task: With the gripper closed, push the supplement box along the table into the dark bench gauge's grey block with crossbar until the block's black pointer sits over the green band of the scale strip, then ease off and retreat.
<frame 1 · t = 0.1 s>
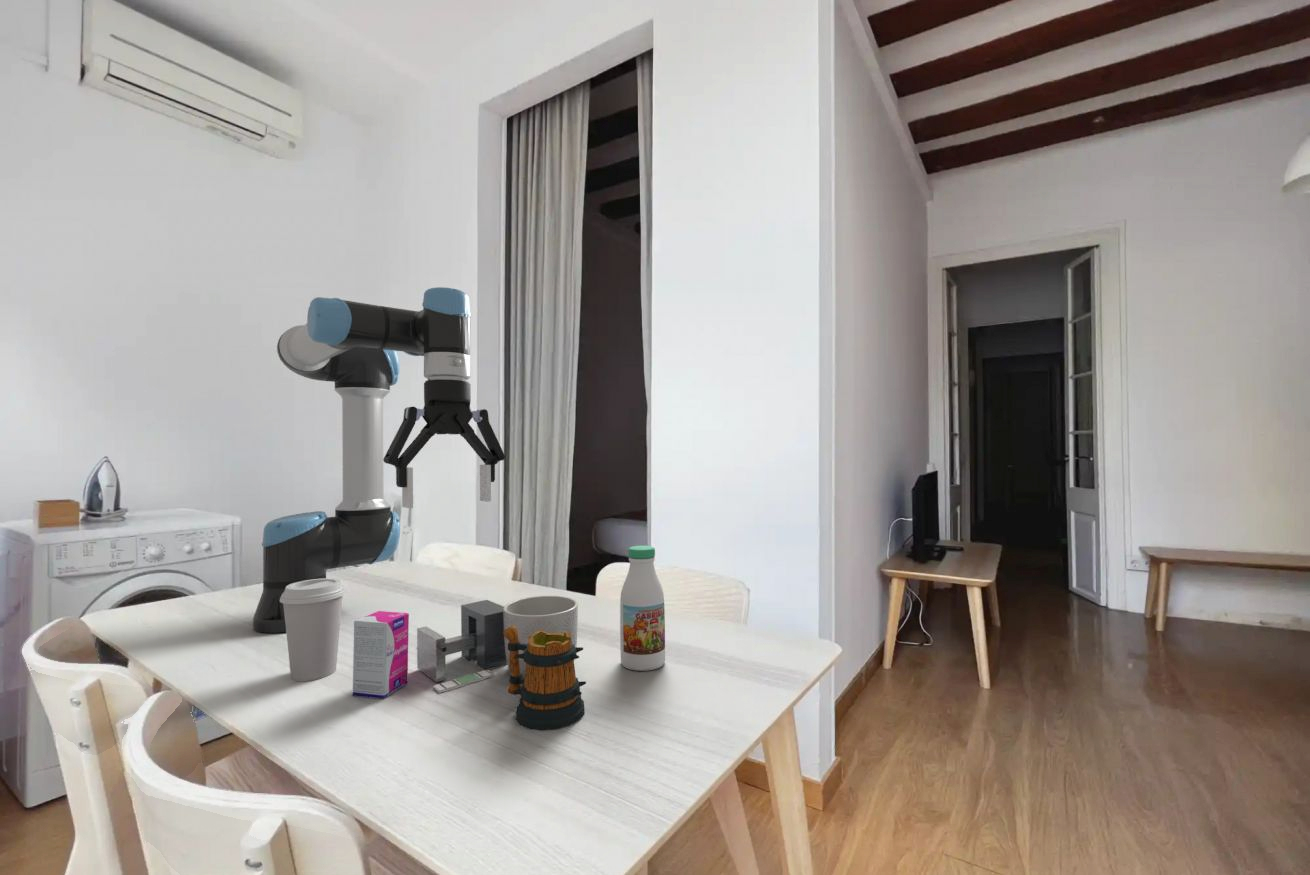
hand: (448, 504, 97), 28 cm above the table, fingers open, 13 cm apart
scale strip: (464, 682, 90), on the table
milk bottle: (643, 664, 97), on the table
mug: (542, 713, 80), on the table
grey block with crossbar: (464, 647, 96), point 4 cm above the table, slide at 0.0 cm
planter: (541, 671, 95), on the table
coffee cup: (313, 674, 95), on the table
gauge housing: (486, 659, 100), on the table
supplement box: (381, 691, 88), on the table
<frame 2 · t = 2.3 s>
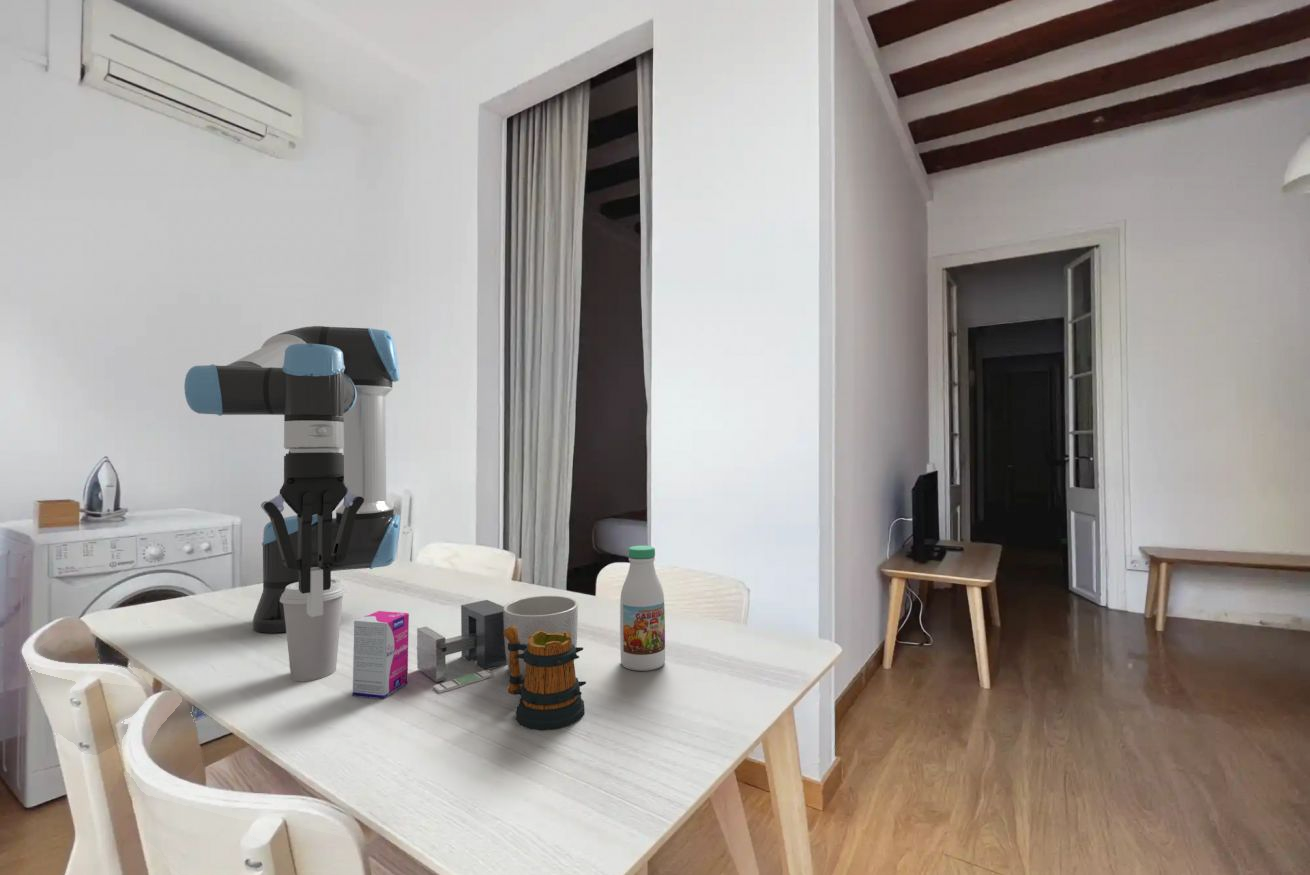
hand: (314, 613, 82), 14 cm above the table, fingers closed
nothing on the table moved.
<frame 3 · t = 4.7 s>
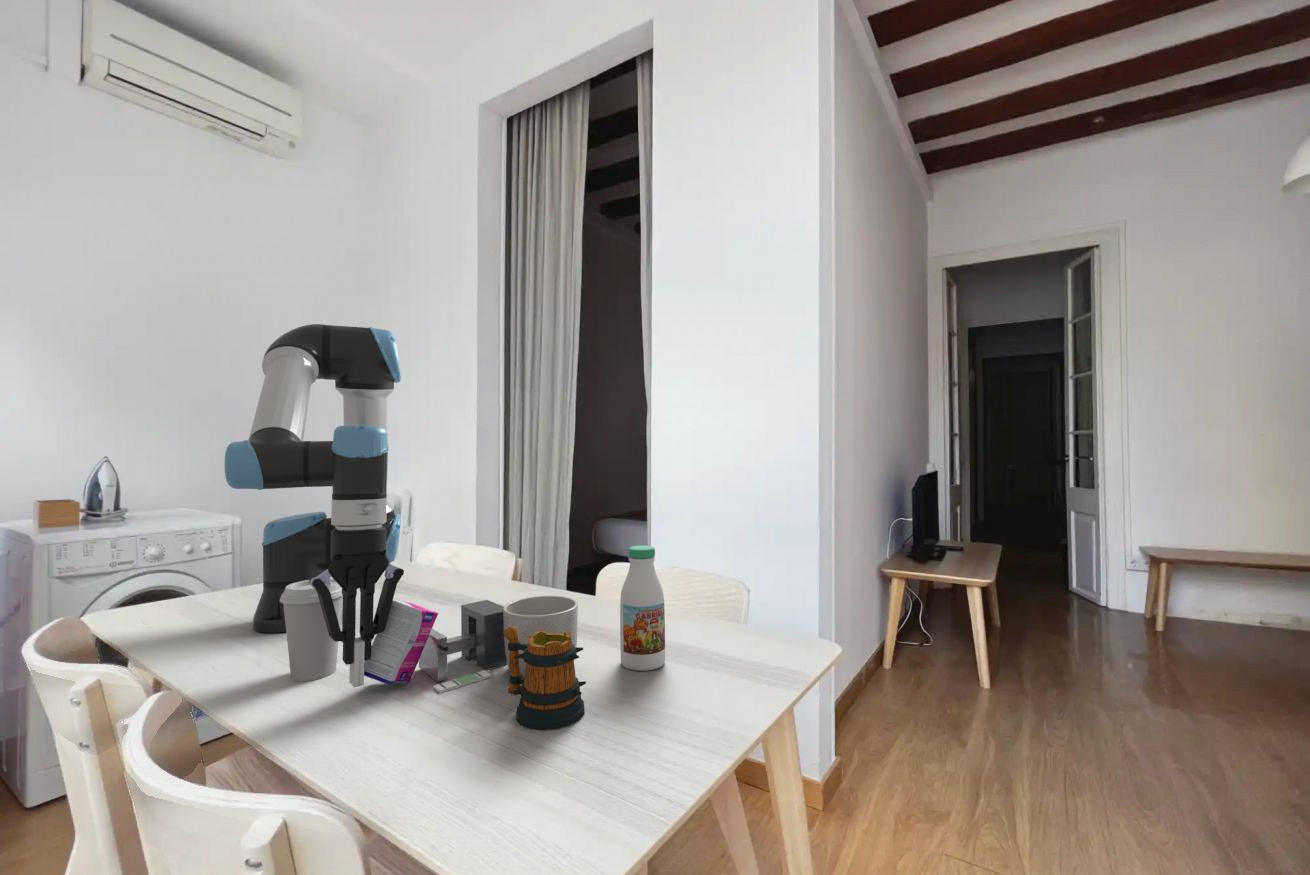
hand: (356, 683, 85), 2 cm above the table, fingers closed
supplement box: (384, 680, 88), point 1 cm above the table, touching gripper, hand
everything else where it was.
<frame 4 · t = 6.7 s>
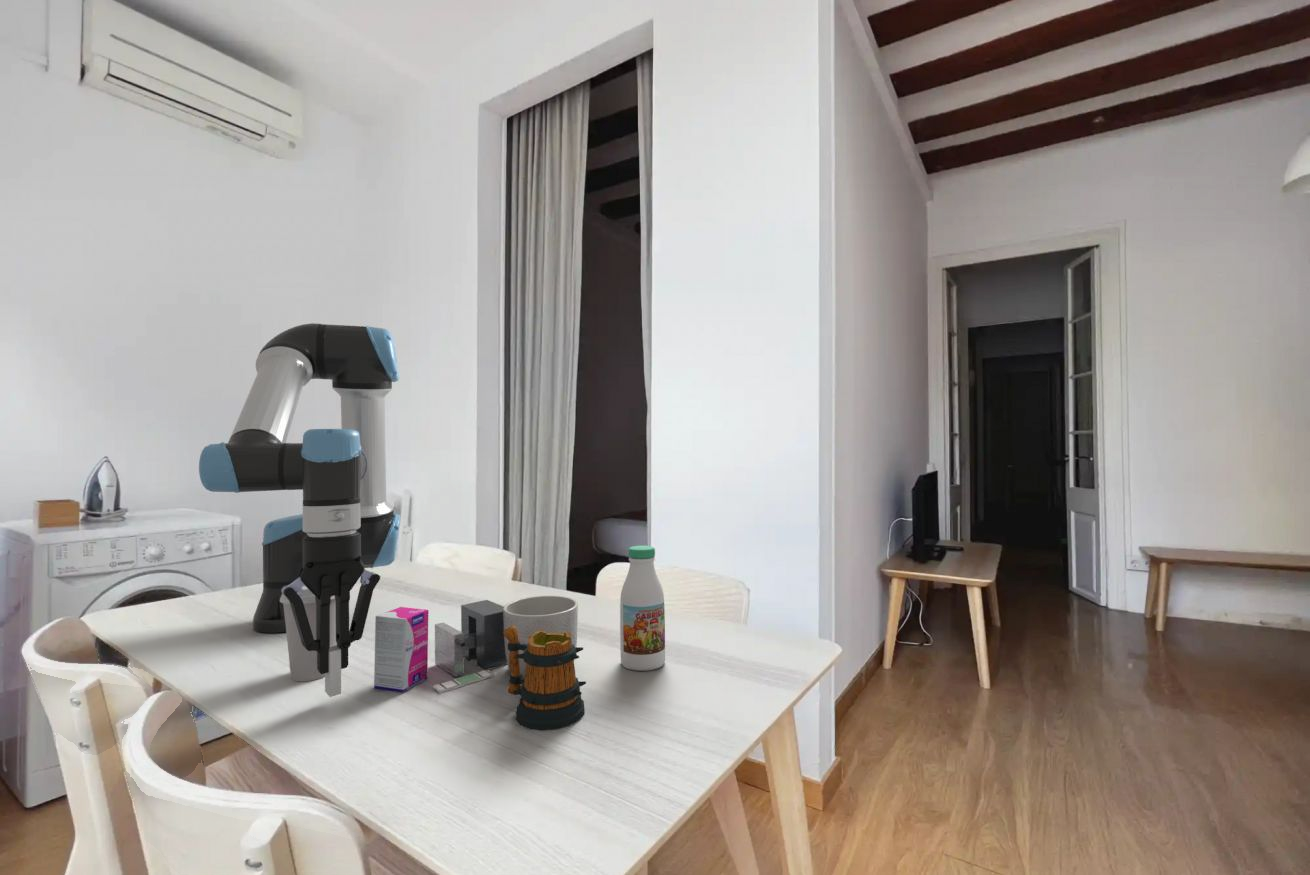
hand: (333, 692, 83), 2 cm above the table, fingers closed
grey block with crossbar: (481, 642, 98), point 4 cm above the table, slide at 3.0 cm
supplement box: (401, 685, 90), on the table
everything else where it was.
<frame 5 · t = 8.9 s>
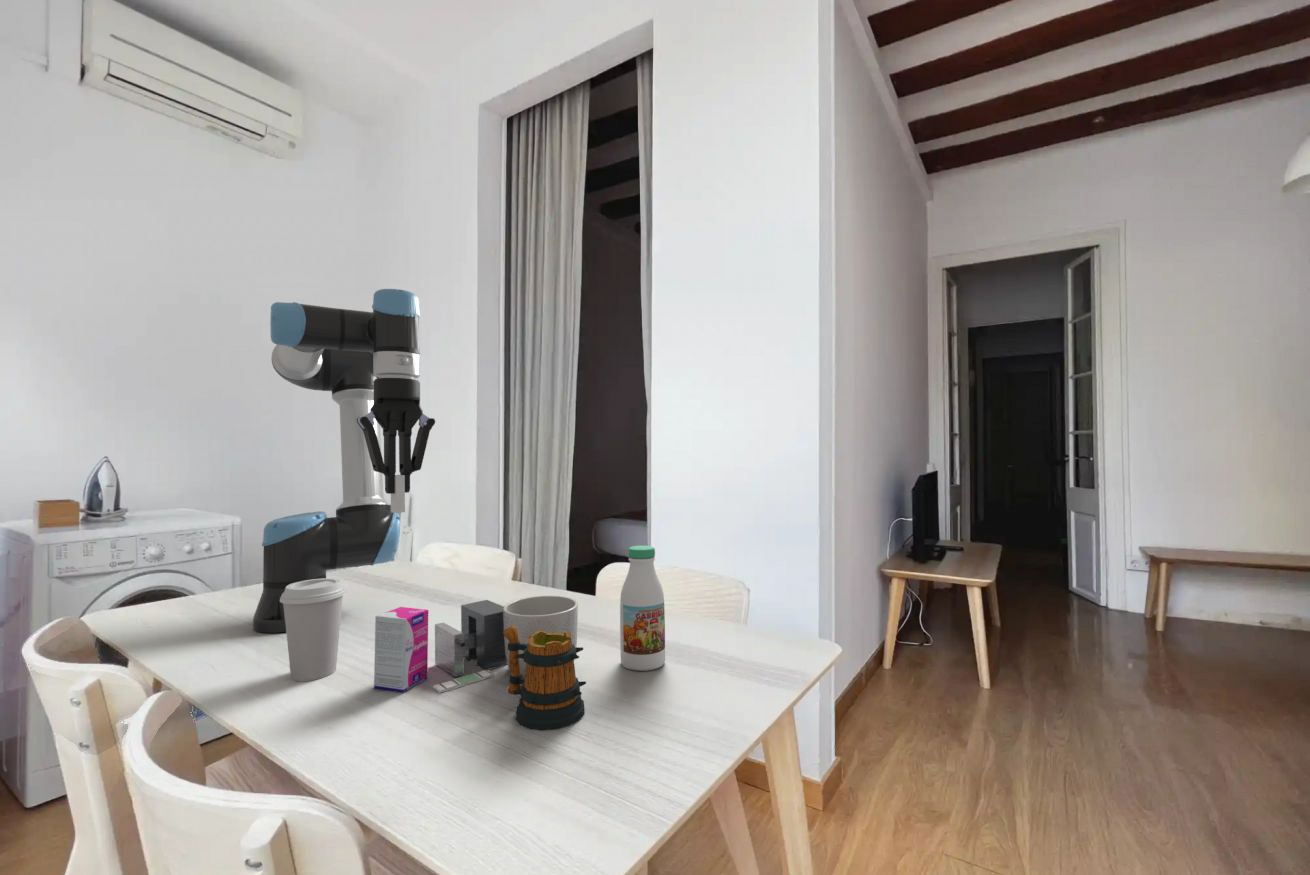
hand: (397, 511, 100), 26 cm above the table, fingers closed
nothing on the table moved.
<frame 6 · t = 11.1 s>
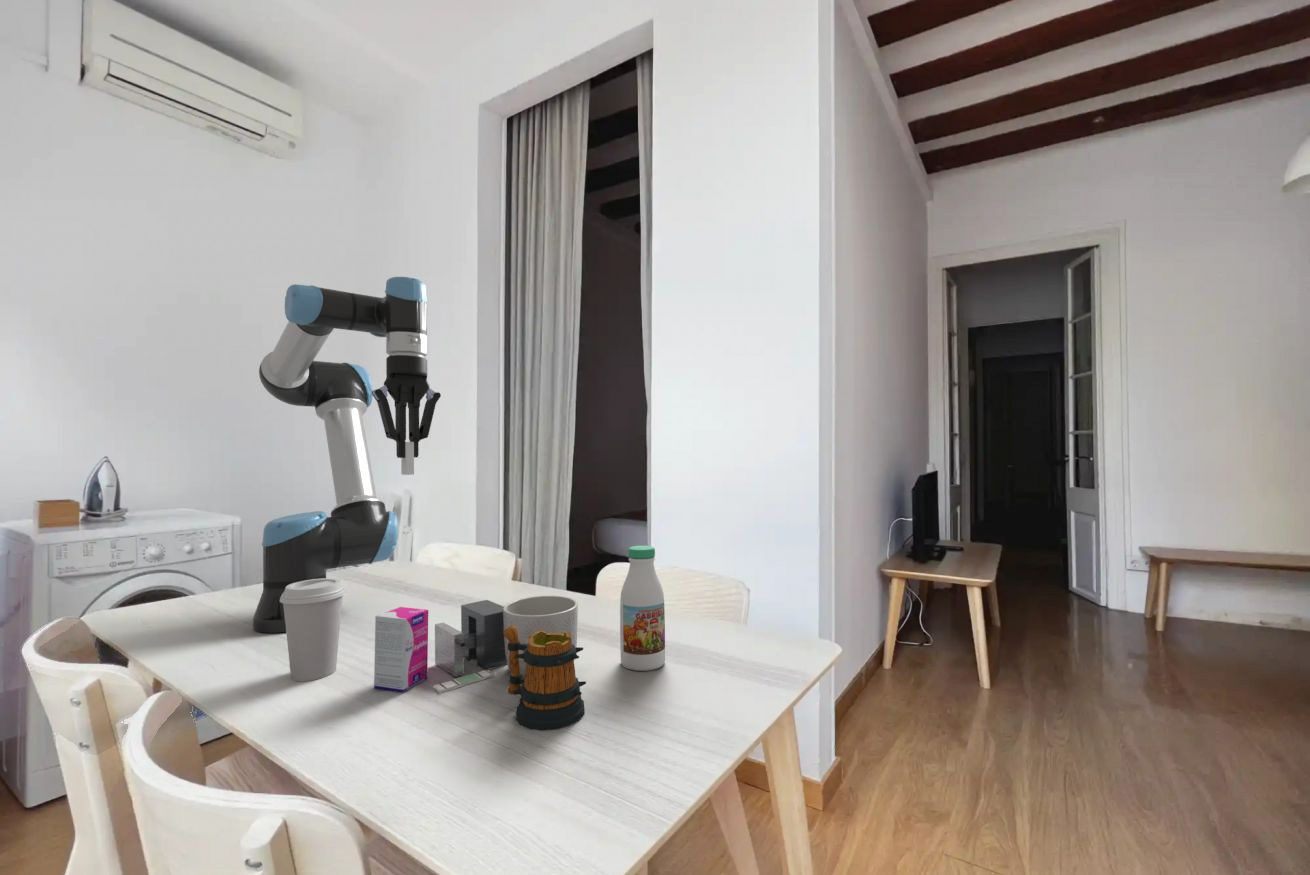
hand: (407, 474, 113), 32 cm above the table, fingers closed
nothing on the table moved.
at the end: grey block with crossbar slide at 3.0 cm; supplement box tilted 0°; the gripper is holding nothing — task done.
